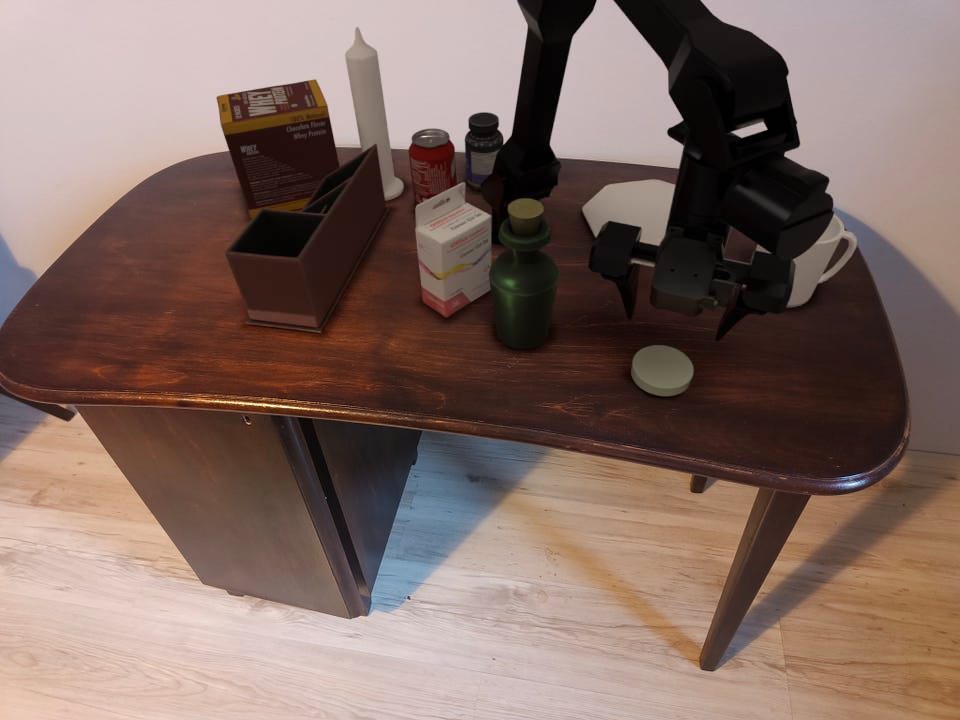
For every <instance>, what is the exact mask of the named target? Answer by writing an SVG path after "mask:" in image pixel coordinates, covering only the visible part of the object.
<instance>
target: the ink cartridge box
mask: <svg viewBox="0 0 960 720" xmlns="http://www.w3.org/2000/svg"><path fill="white" fill-rule="evenodd" d="M466 184H467V183H466V182H461V183H459V184H457V186H455V187H453V188H450V189H448V190H446V191H444V192H442V193H440V194H438V195H436V196H434V197H432V198H431V199H429V200H427V201H425V202H423V203H421V204H418V205H417V206H416V209H415V212H414V213H415V214H414V215H415V229H414V232H415V242H416V250H417V251H416V252H417V259H418V260H417V261H418V267H419V277H420V287H421V297H422V303H424V304H425V305H427V306H428V307H429V308H431V309H433V311H435V312H437V313H438V314H440V315H441V316H442V317H444V318H446V319H447V318H449V317H450V316H451V315H453V314H455V313H456V312H458V311H460V310H461V309H463V308H464V307H466V306H467V305H469V304H471V303H472V302H474V301H475V300H477V299H479V298H480V297H482V296H484V295H485V294H487V293H488V292H491V288H490V280H489V271H490V267H491V265H492V242H491V232H492V214H489V213H488V212H485V211H484V210H482V209H480V208H478V207H476V206H474V205H473V204H470V203H469V202H466V187H467V185H466ZM447 198H450V200H449V202H448V203H446V204H444V205H442V206H440V207H438V208H436V209H434V210H433V206H434V205H436V204H438V203H439V202H440V200H442V199H443V200H446V199H447Z"/></svg>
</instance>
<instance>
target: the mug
mask: <svg viewBox="0 0 960 720" xmlns="http://www.w3.org/2000/svg"><path fill="white" fill-rule="evenodd" d="M842 239H844V240H847V242H848V247H847V248H846V250H845V252H844V254H843V255H841V257H840V258H839V260H838V261H836V262H835V264H834V265H833V266H832V267H831V268H830V269H829V270H827V271H826V272H825V270H826V269H827V266H829V265H828V264H830V263H829V262H830V261H831V259H832V257H833V255H834V254H835V251H836V250H837V247H838V245H839V244H840V242H841V240H842ZM857 247H858V238H857V236H856V235H855V234H854V233H853V232H851V231H848V230H845V226H844V222H843V221H842V220H841V219H840V218H839V217H838V216H837V214H834V215H833V218H832V220H831V222H830V224H829V226H828V227H827V229H826V230H825V232H824V233H823V235H822V236H821V237H820V238H819V239H818V241H817V242H816V243H815V244H814V245H813V246H812V247H811V248H810V249H808V250H807V251H806V252H805V253H803V254H802V255H800V256H799V257H797V258H795V259H793V261H794V263H795V265H796V268H795V275H794V282H793V290H792V293H791V296H790V300H789V302H788V304H787V307H786V309H787V308H788V309H789V308H797V307H801V306H802V305H803V304H804V305H805V304H806V303H807V302H809V300H810V299H811V298H812V296H813V294H814V292H815V290H816V288H817V286H818V284H823V283H824V282H826V281H828V280H830V279H831V278H832V277H833V276H834V275H836V274H837V273H838V272H839V271H840V270H841V269H842V268H843V267H844V266H845V265H846V264H847V262H848V261H849V260H850V259H851V258H852V256H853V254H854V252H855V251H856V249H857ZM755 250H756V251H761V252H766V253H770V252H768V251H767V250H765V249H764V248H763V247H761V246H760V245H758V244H757V243H756V248H755ZM824 272H825V273H824Z"/></svg>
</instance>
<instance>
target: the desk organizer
mask: <svg viewBox="0 0 960 720" xmlns="http://www.w3.org/2000/svg"><path fill="white" fill-rule="evenodd" d="M390 210H391V207H390V206H387V205H386V201H385V197H384V190H383V184H382V177H381V171H380V164H379V157H378V150H377V144H374V145H373V146H372V147H370V148H369V149H367V150H365V151H364V152H362V151H361V153H359V154H358V155H357V156H355V157H353V158H352V159H350V160H349V161H347V162H346V163H344V164H342V165H341V166H339V168H338V169H336V170H335V171H333V172H332V173H330V174H328V175H327V176H325V177H324V178H323V180H322V181H321V183H320V184H319V186H318V187H317V189H316V190H315V192H314V193H313V195H312V196H311V198H310V199H309V201H308V202H307V204H306V205H305V206H304V208H301V210H300V211H296V210H291V211H285V210H275V209H267V208H261V209H260V210H259V211H258V212H257V214H256V215H255V216H254V217H253V218H251V220H250V221H249V222H248V223H247V224H246V226H245V227H244V228H243V229H242V230H241V232H240V233H239V234H238V235H237V236H236V237H235V239H234V240H233V242H232V243H231V244H230V245H229V246H228V248H226V250H225V251H224V255H225V257H226V260H227V263H228V265H229V269H230V271H231V273H232V274H233V278H234V280H235V282H236V285H237V288H238V290H239V294H240V296H241V299H242V301H243V303H244V306H245V309H246V312H247V315H248V318H247V319H246V321H245V322H244V323H245V324H246V325H251V326H262V327H270V328H279V329H284V330H285V329H286V330H294V331H301V332H309V333H317V334H323V330H324V329H325V327H326V326H327V323H328V321H329V320H330V318H331V316H332V315H333V312H334V311H335V309H336V307H337V305H338V303H339V302H340V300H341V298H342V297H343V294H344V292H345V291H346V288H347V287H348V285H349V284H350V282H351V280H352V278H353V276H354V274H355V272H356V271H357V269H358V267H359V265H360V263H361V261H362V260H363V259H364V256H365V255H366V253H367V251H368V249H369V248H370V247H371V244H372V242H373V240H374V238H375V237H376V235H377V233H378V232H379V230H380V228H381V226H382V225H383V222H384V221H385V219H386V217H387V215H388V213H389V211H390Z"/></svg>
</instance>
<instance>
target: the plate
mask: <svg viewBox="0 0 960 720" xmlns="http://www.w3.org/2000/svg"><path fill="white" fill-rule="evenodd" d="M674 189H675V184H674V183H671V182H667V181H664V180H661V179H652V178H651V179H643V180H635V181H625V182H618V183H617V182H616V183H610V184H607V185H604V186H603V188H601V189H600V190H599V191H598V192H597V193H596V194H595V195H594V196H593V197H592V198H591V199H590V200H588V201H587V202H586V203H585V204H584V205H583V206H582V209H581V213H582V215H583V216H584V218H585V220H586V223H587V225H588V227H589V229H590V231H591V233H592V235H593V237H594V238H595V239H596V237H597V235H598V233H599V231H600V229H601V227H602V226H603V225H604V224H605V223H606V222H608V221H613V222H618V223H623V224H628V225H633V226H638V227H642V233H641V239H640V241H639V242H643V243H648V244H653V245H658V246H659V245H660V242H661V241H662V239H663V238H664V236H665V231H666V226H667V222H668V217H669V212H670V208H671V203H672V198H673V194H674ZM595 239H594V240H595Z"/></svg>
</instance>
